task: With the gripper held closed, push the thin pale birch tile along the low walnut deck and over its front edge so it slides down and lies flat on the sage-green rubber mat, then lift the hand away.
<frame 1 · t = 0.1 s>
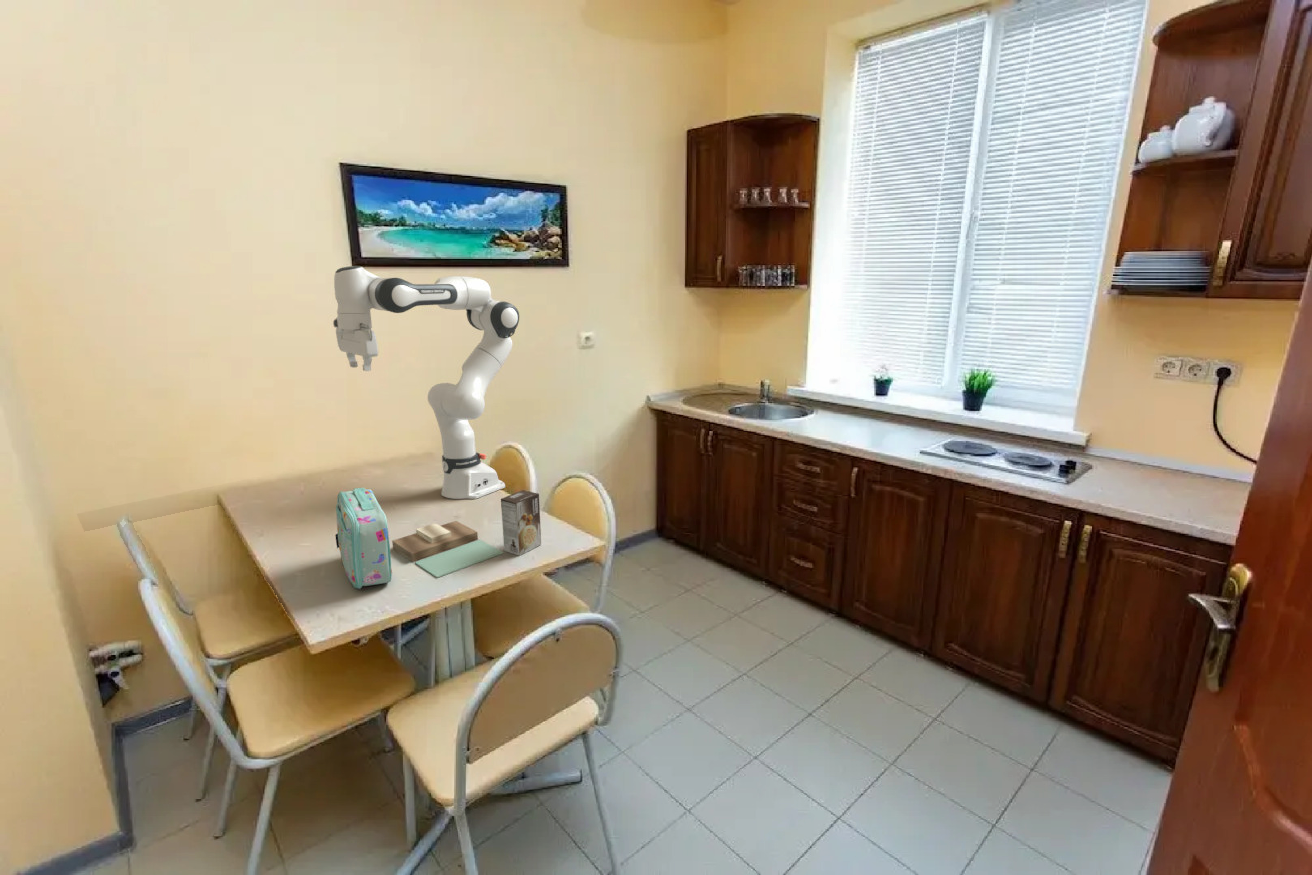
hand: (360, 369, 182), 48 cm above the table, tool pointing down, fingers open, 8 cm apart
lunch box: (366, 572, 159), on the table
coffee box: (522, 548, 174), on the table
walnut deck: (436, 544, 176), on the table
birch tile: (433, 532, 176), point 3 cm above the table, touching walnut deck
sage mat: (459, 558, 167), on the table
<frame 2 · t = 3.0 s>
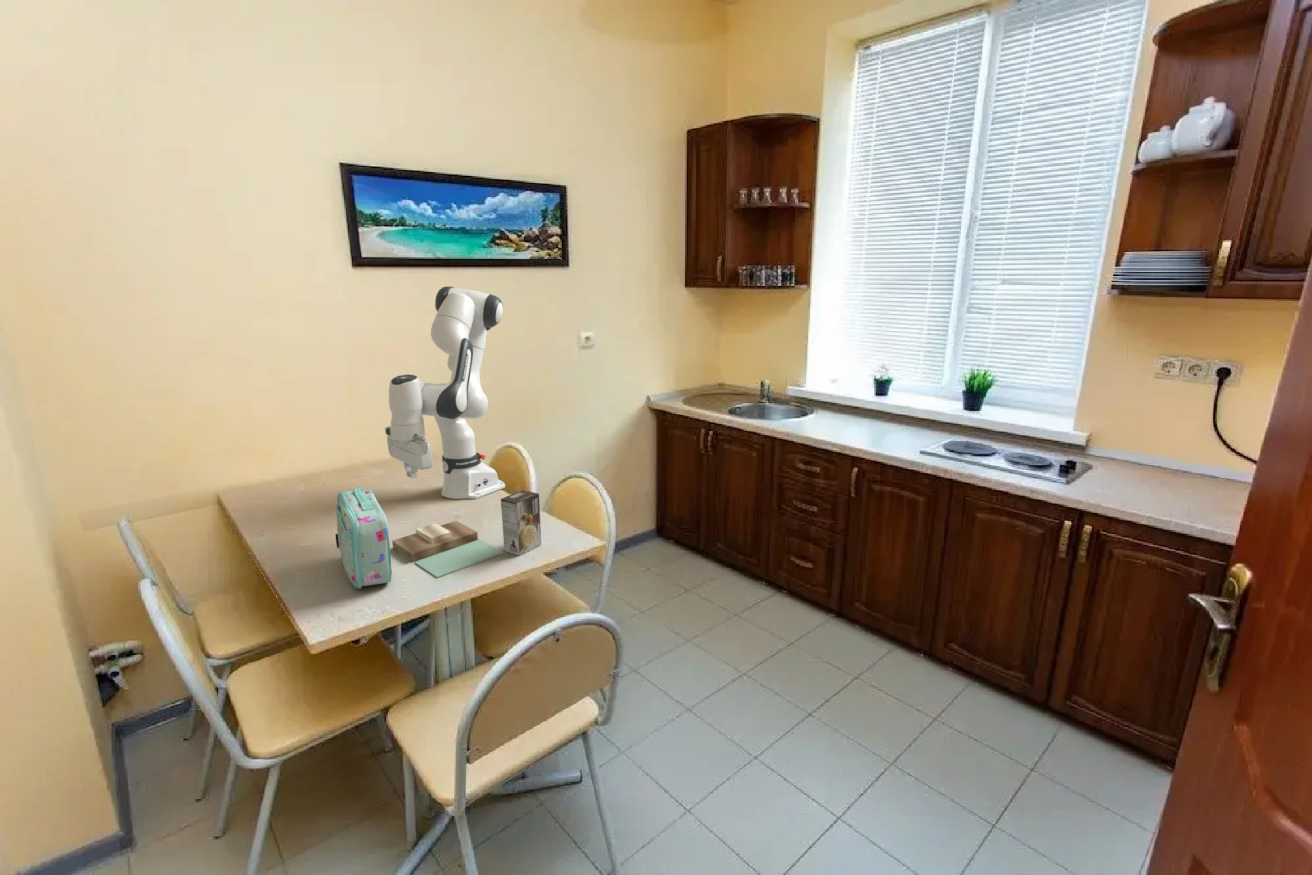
hand: (412, 477, 178), 18 cm above the table, tool pointing down, fingers closed
nothing on the table moved.
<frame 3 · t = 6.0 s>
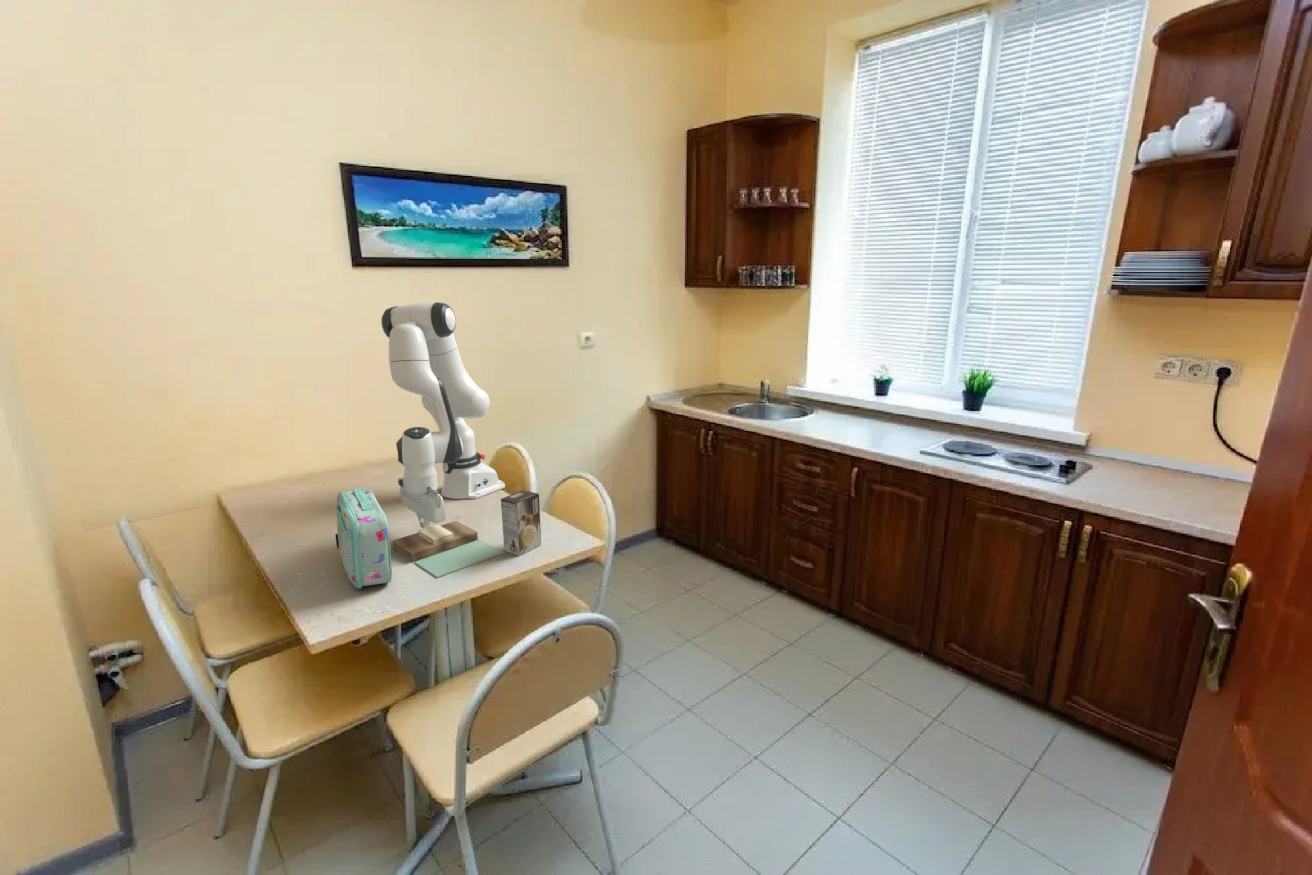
hand: (425, 527, 178), 3 cm above the table, tool pointing down, fingers closed
birch tile: (436, 534, 175), point 3 cm above the table, touching gripper
everything else where it was.
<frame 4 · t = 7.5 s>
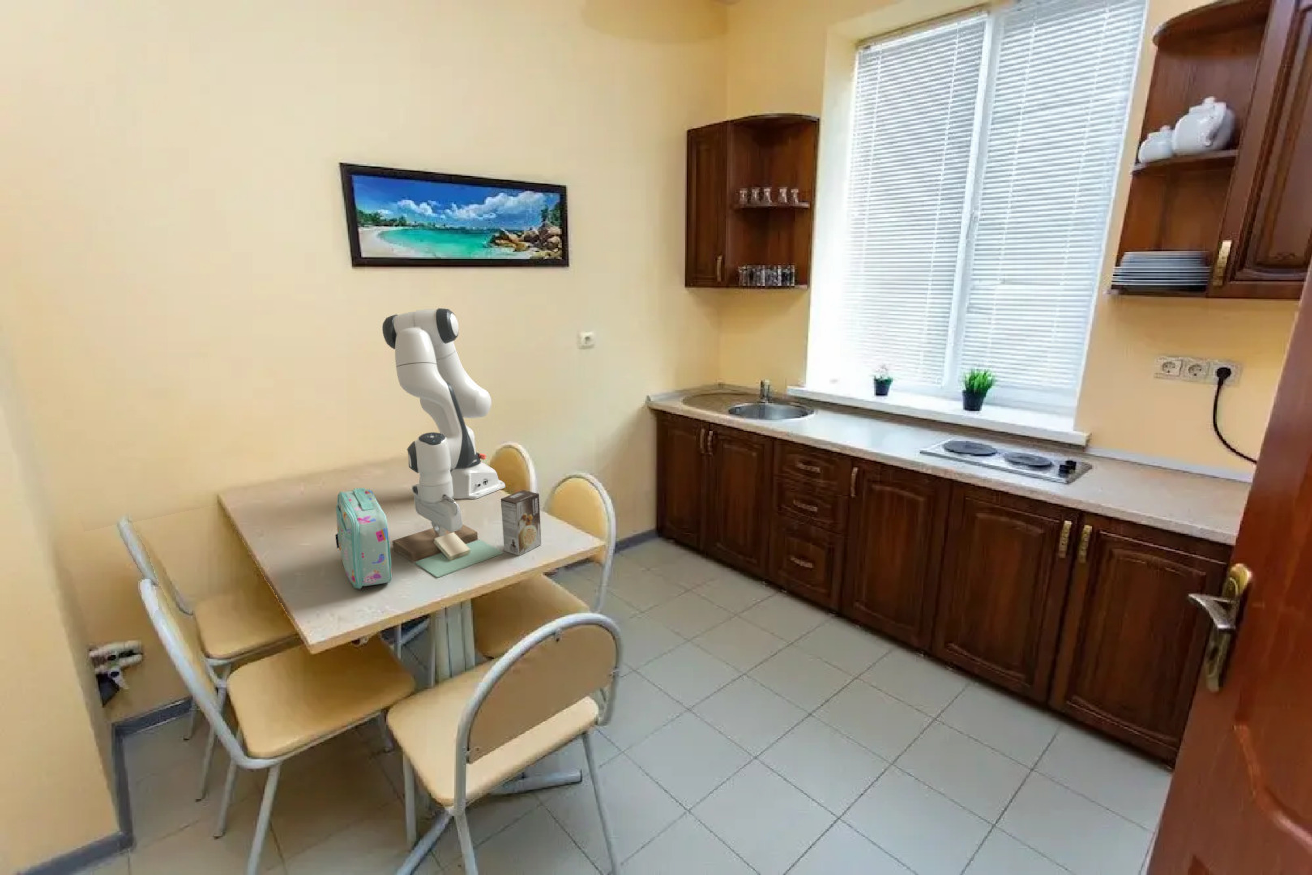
hand: (440, 536, 172), 4 cm above the table, tool pointing down, fingers closed
birch tile: (452, 546, 169), point 2 cm above the table, tilted 16°, touching gripper
everything else where it was.
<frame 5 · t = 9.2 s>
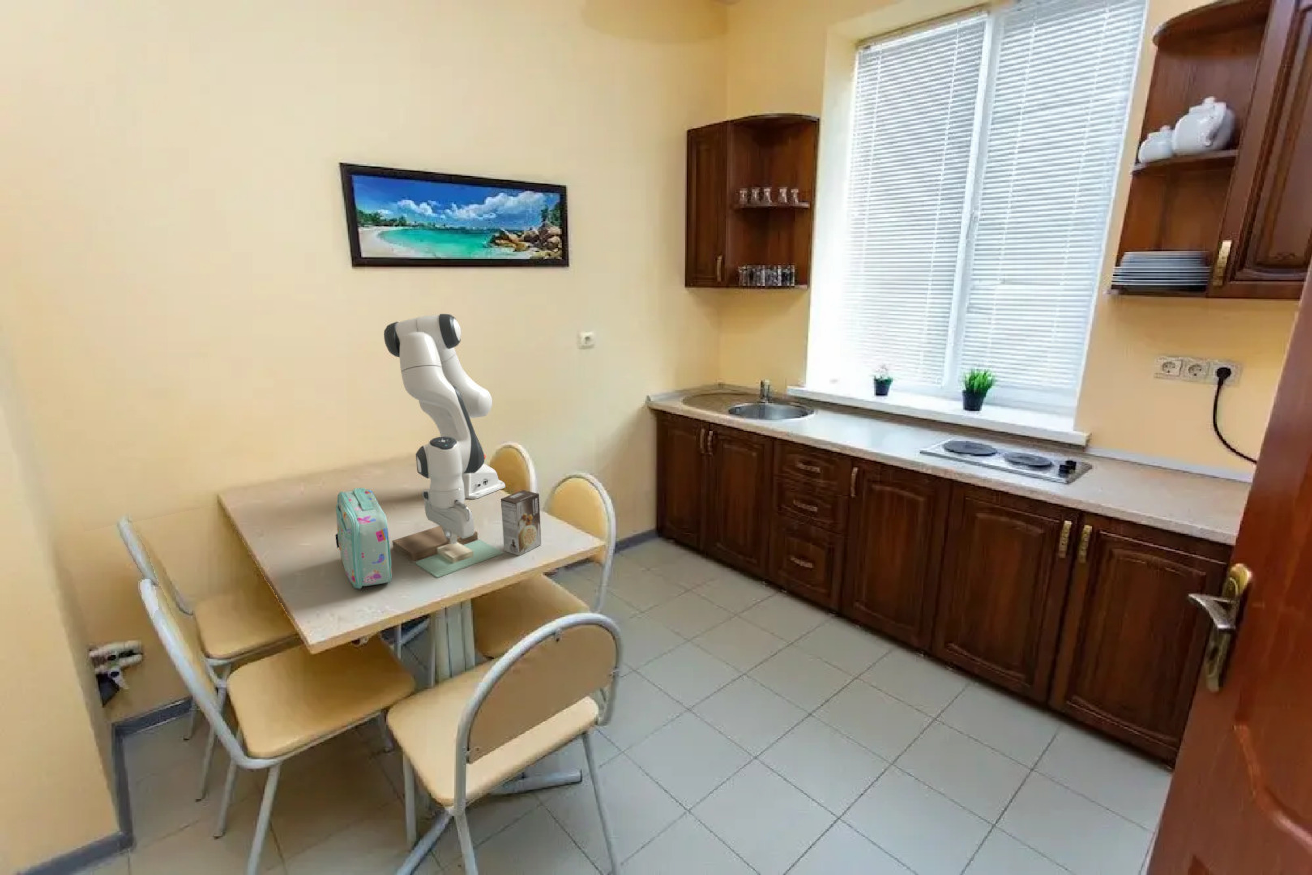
hand: (451, 542, 169), 3 cm above the table, tool pointing down, fingers closed
birch tile: (455, 551, 169), point 1 cm above the table, touching sage mat
everything else where it was.
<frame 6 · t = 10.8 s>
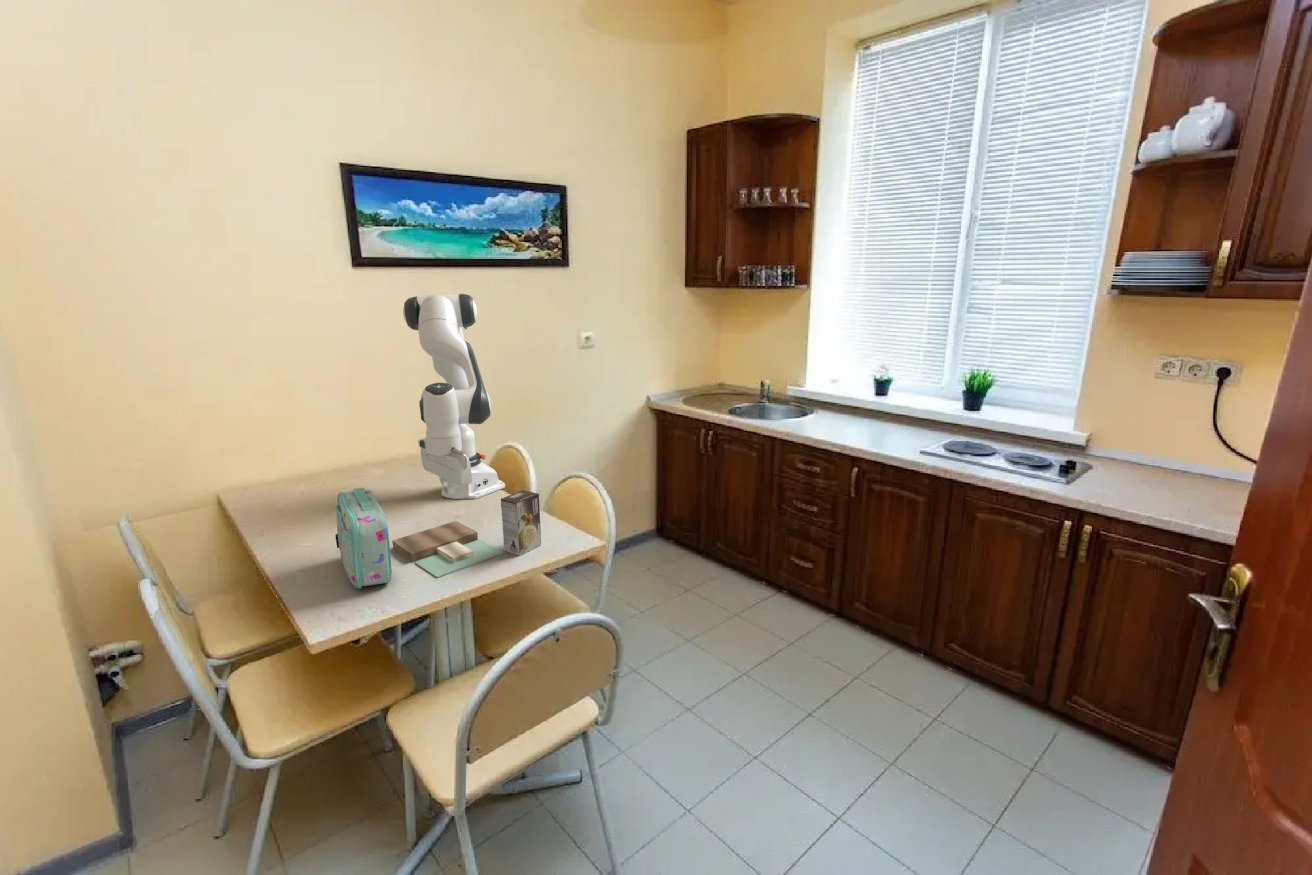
hand: (448, 492, 165), 18 cm above the table, tool pointing down, fingers closed
nothing on the table moved.
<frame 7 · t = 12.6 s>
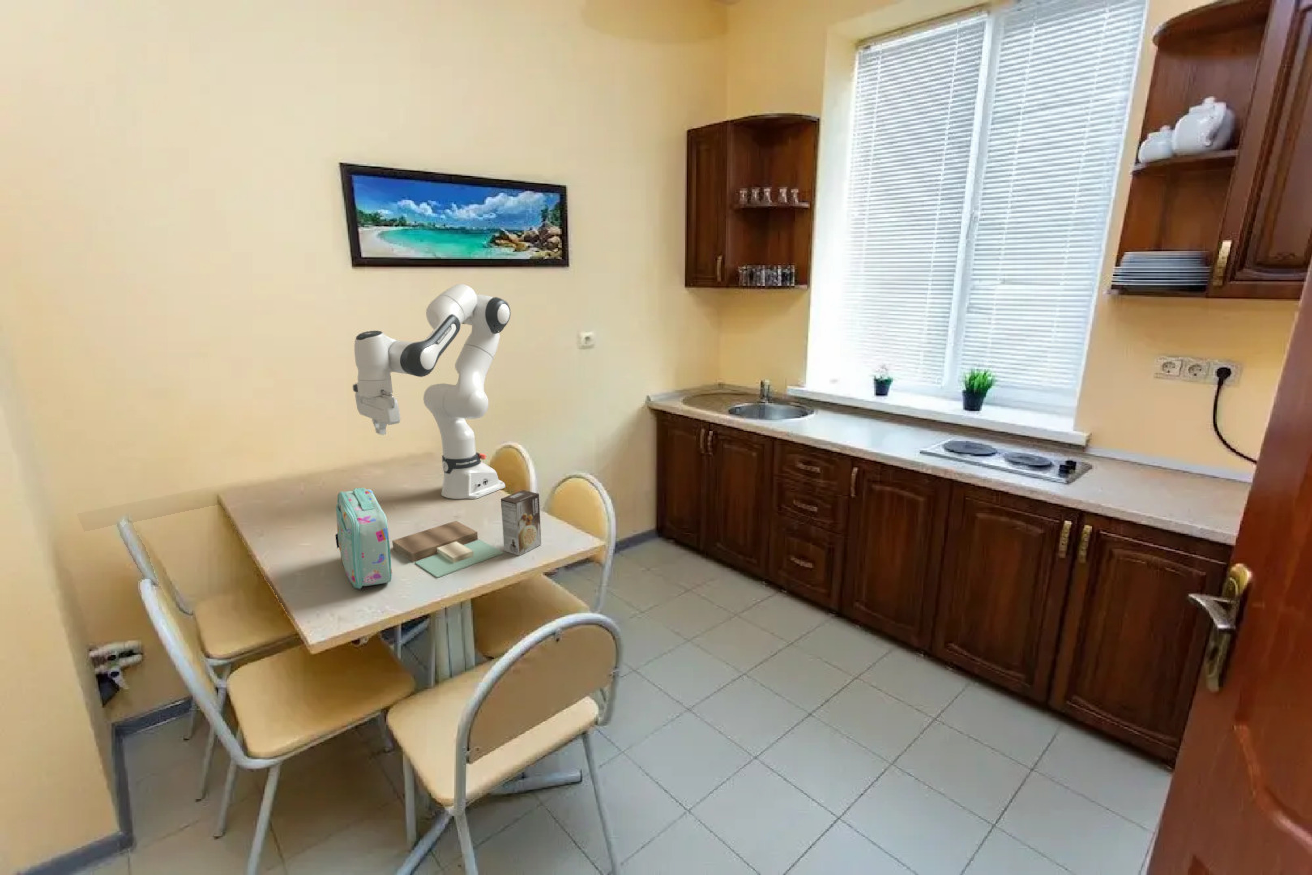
hand: (381, 433, 179), 30 cm above the table, tool pointing down, fingers closed
nothing on the table moved.
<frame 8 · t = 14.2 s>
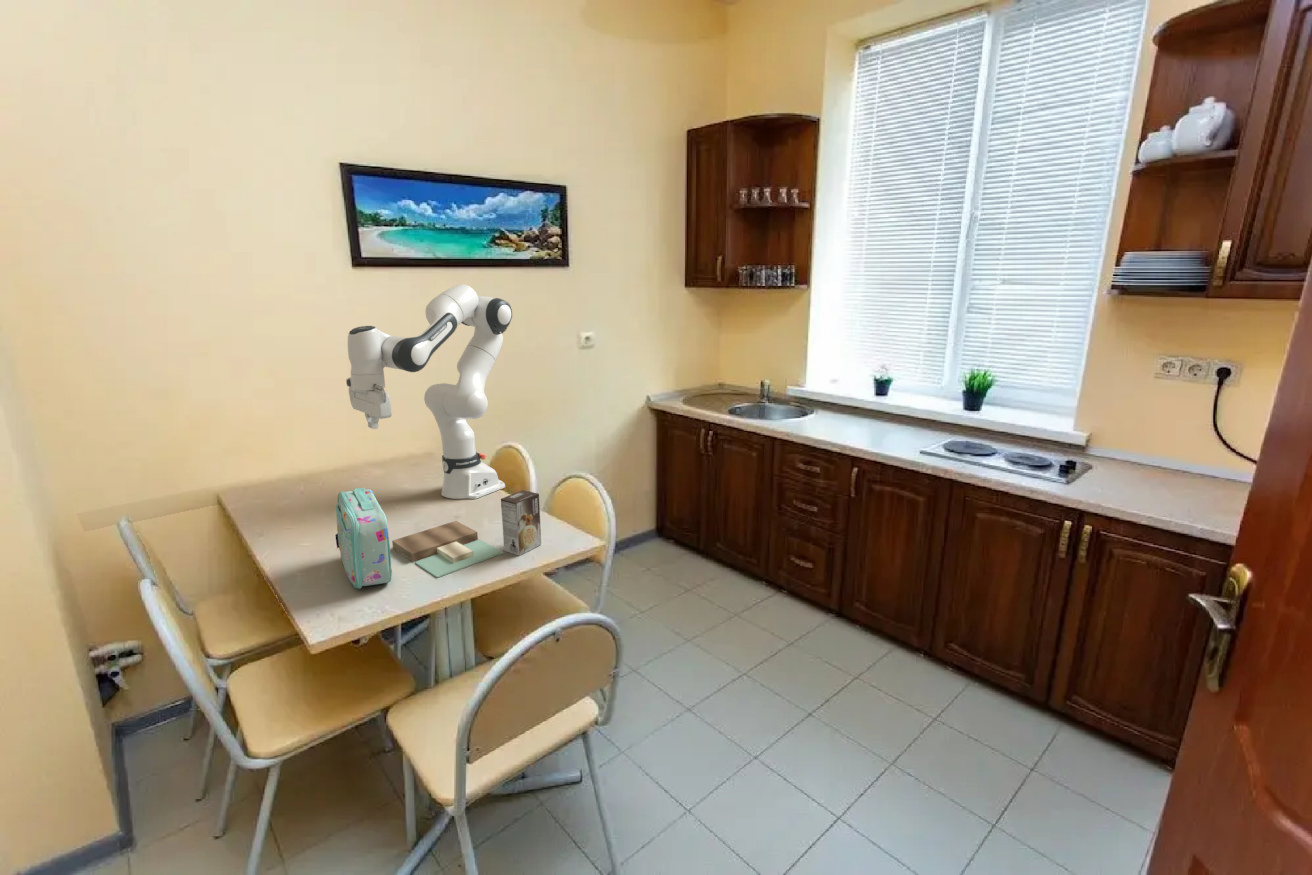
hand: (373, 428, 181), 31 cm above the table, tool pointing down, fingers closed
nothing on the table moved.
at the end: birch tile point 1.1 cm above the table; birch tile inside the target area (2.8 cm from its centre), point 1.1 cm above the table; the gripper is holding nothing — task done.
